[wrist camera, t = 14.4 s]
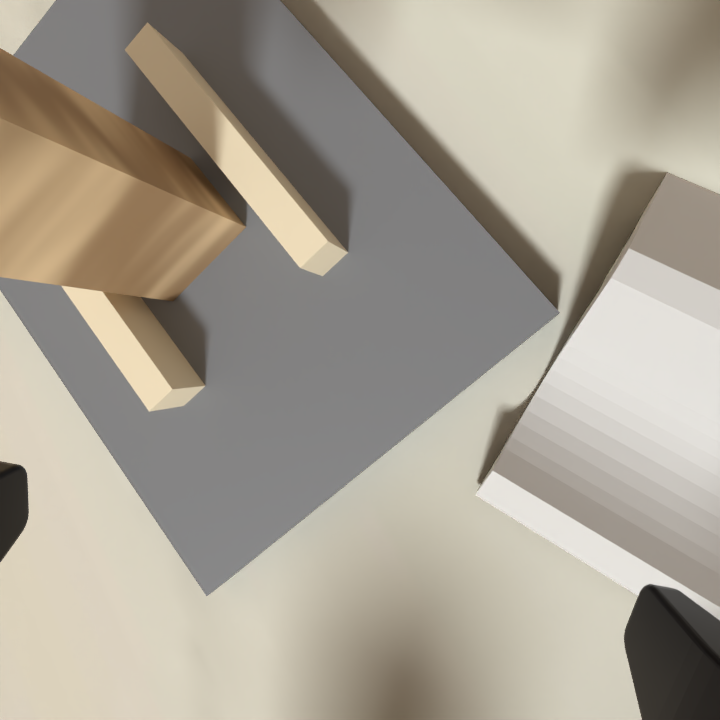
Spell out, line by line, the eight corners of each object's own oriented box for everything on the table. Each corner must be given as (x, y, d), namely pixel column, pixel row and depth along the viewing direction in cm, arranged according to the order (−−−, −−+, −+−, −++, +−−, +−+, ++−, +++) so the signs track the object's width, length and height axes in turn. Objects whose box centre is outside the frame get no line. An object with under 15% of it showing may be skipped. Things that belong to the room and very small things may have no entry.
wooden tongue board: (246, 227, 20) (-137, 57, 8) (172, 301, 21) (-264, 239, 9) (190, 158, 20) (-239, -90, 9) (122, 233, 21) (-347, 96, 10)
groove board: (557, 315, 18) (564, 307, 15) (223, 583, 22) (174, 621, 19) (179, -109, 22) (122, -184, 19) (-51, 181, 25) (-130, 158, 22)
